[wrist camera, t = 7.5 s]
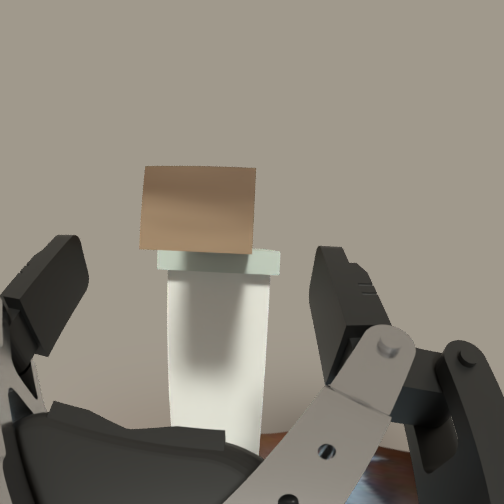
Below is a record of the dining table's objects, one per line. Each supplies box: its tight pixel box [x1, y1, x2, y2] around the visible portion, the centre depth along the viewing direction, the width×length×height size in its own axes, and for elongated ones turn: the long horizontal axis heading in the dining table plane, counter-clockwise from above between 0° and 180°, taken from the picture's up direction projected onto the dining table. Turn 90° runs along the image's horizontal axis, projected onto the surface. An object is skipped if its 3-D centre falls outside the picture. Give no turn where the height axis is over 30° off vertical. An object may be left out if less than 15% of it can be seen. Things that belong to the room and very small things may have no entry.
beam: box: [139, 166, 256, 254], centre depth 23 cm, size 25×4×4 cm, turn 1°
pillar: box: [157, 249, 280, 456], centre depth 29 cm, size 16×8×31 cm, turn 1°
